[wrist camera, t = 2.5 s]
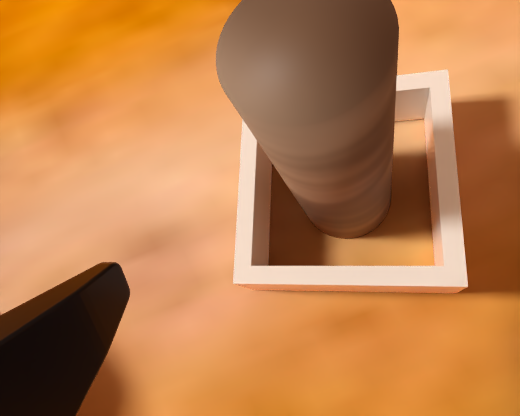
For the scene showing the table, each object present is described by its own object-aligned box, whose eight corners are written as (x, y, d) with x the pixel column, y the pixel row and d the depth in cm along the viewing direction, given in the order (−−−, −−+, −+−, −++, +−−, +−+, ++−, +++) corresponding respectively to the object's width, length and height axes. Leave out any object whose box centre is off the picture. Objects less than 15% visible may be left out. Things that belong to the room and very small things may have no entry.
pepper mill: (363, 254, 20) (337, 156, 9) (288, 213, 22) (183, 86, 11) (406, 178, 21) (434, -9, 9) (329, 144, 23) (273, -52, 11)
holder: (455, 293, 19) (467, 286, 16) (252, 289, 22) (233, 283, 19) (439, 103, 21) (447, 69, 19) (260, 120, 24) (244, 93, 21)
